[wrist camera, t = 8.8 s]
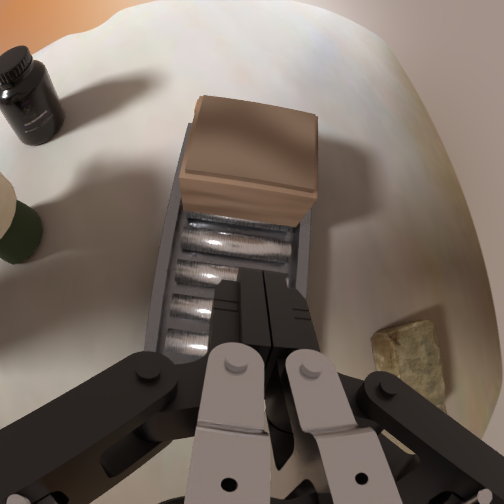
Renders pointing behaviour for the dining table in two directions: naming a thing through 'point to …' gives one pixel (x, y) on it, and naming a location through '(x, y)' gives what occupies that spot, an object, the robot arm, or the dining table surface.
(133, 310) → the dining table surface
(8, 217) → the character mug
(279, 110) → the brown wooden block
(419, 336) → the stone block
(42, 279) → the dining table surface
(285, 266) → the roller track
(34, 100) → the supplement bottle
